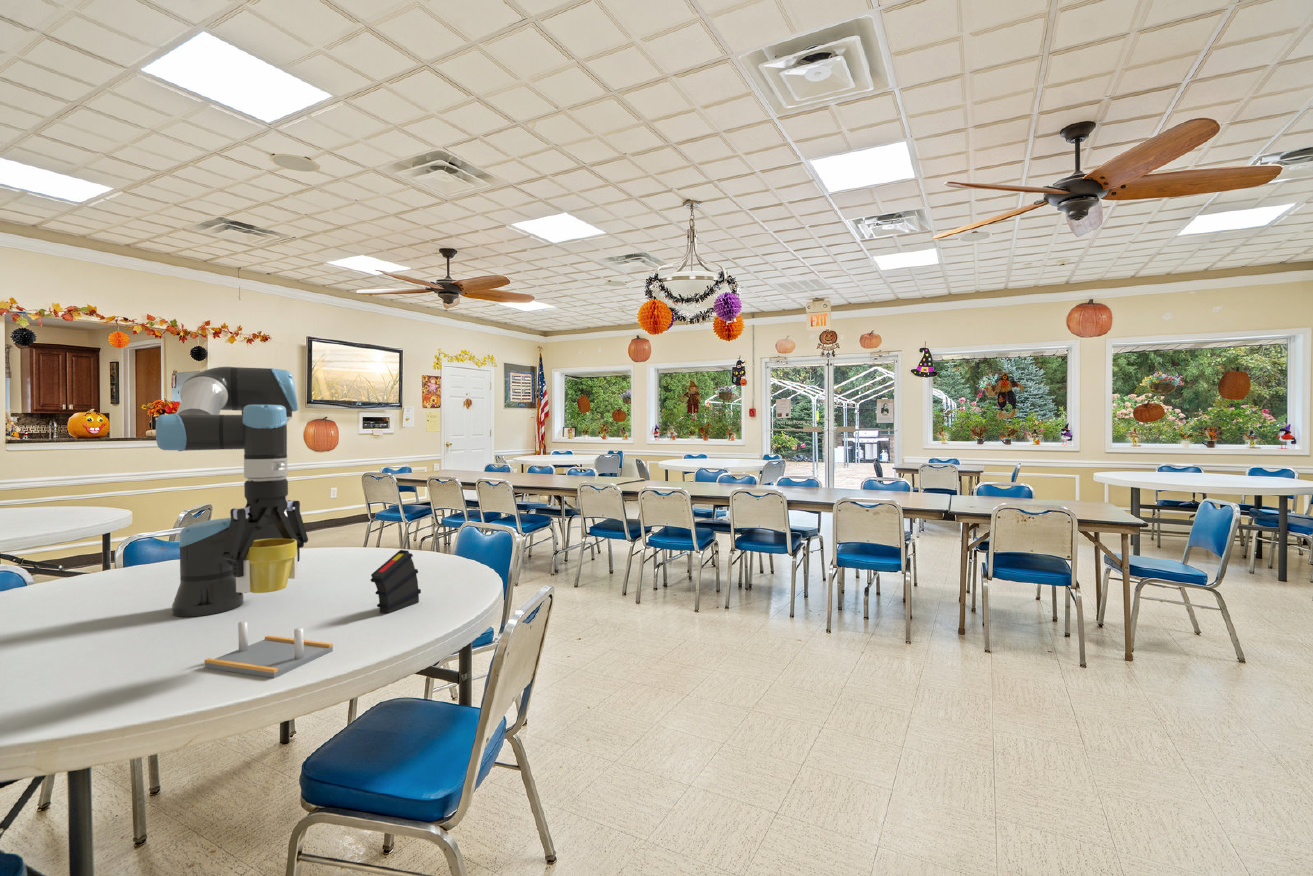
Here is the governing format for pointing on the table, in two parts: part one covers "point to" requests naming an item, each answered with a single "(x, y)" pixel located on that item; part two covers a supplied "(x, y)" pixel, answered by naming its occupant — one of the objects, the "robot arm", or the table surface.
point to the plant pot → (270, 563)
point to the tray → (269, 654)
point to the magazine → (396, 583)
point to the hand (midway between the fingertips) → (268, 584)
